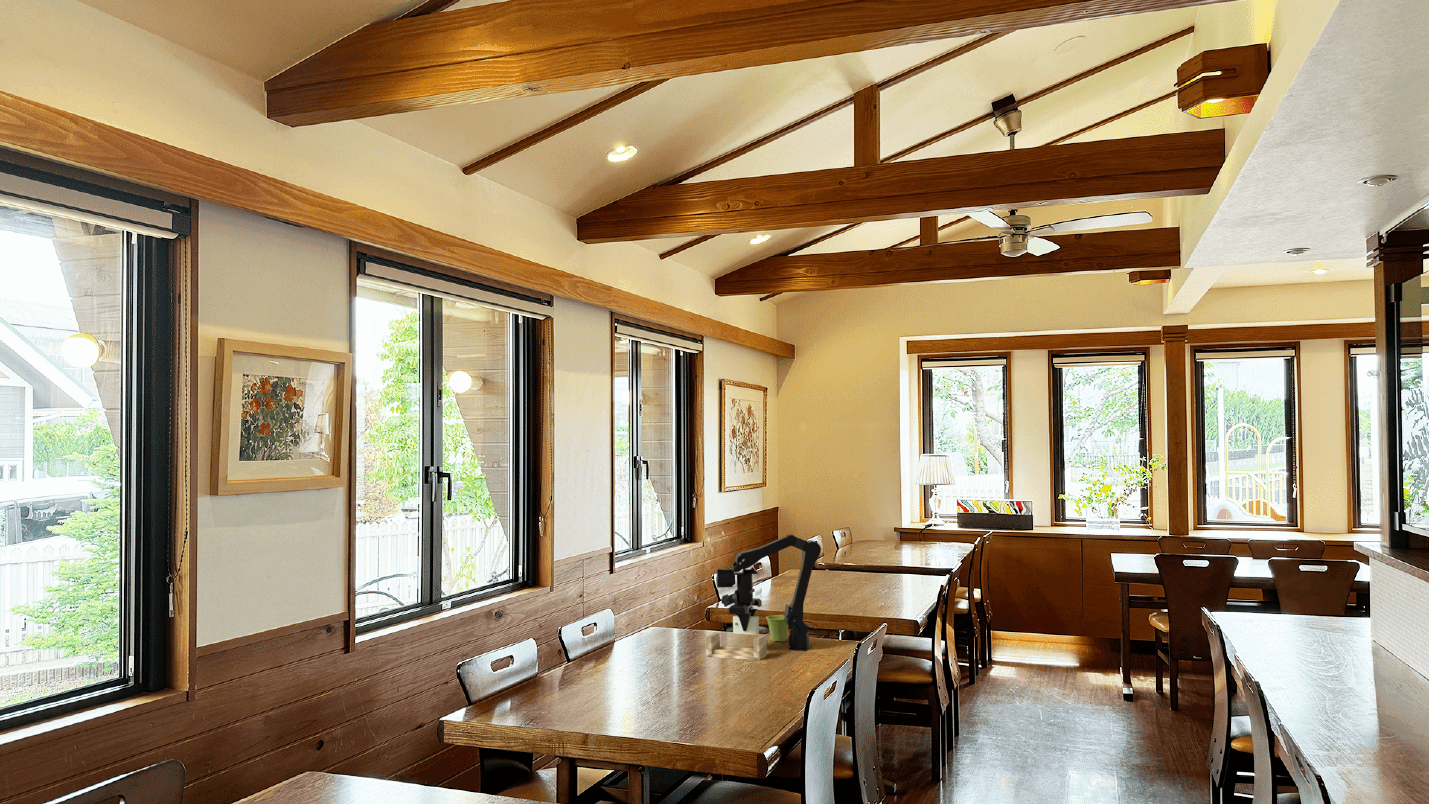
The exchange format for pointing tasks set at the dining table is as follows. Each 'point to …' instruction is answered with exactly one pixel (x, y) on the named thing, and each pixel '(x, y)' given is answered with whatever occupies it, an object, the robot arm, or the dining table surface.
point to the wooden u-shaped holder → (736, 648)
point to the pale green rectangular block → (751, 629)
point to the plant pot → (777, 627)
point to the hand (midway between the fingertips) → (746, 630)
